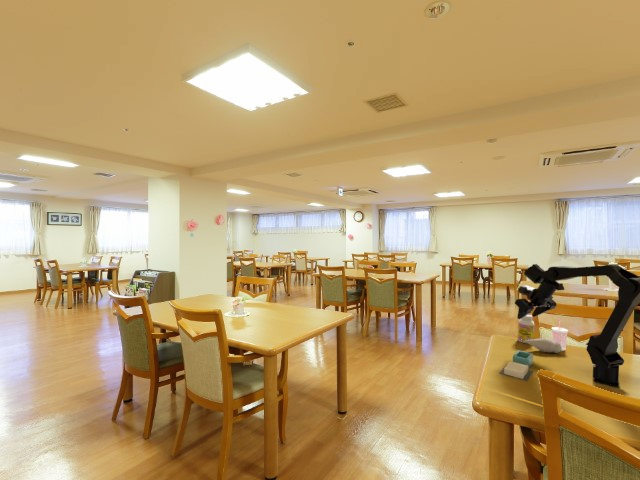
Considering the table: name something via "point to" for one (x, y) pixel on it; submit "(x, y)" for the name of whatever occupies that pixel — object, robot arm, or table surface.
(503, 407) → the table surface
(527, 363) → the teal open box
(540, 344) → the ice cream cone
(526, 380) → the mat
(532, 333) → the supplement bottle
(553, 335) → the beverage cup
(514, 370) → the lid
